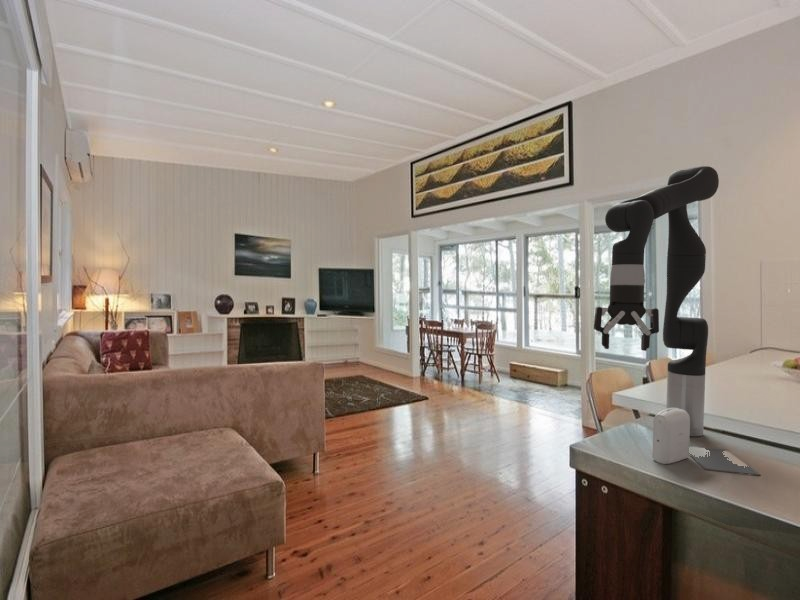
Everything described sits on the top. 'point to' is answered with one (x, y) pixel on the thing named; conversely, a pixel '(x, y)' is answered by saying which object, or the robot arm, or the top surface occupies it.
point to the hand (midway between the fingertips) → (624, 349)
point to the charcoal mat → (721, 463)
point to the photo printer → (671, 435)
